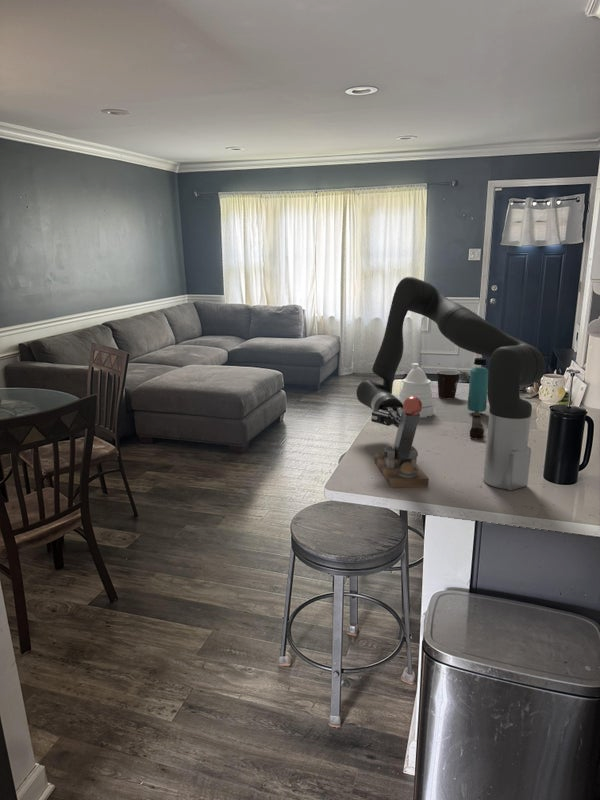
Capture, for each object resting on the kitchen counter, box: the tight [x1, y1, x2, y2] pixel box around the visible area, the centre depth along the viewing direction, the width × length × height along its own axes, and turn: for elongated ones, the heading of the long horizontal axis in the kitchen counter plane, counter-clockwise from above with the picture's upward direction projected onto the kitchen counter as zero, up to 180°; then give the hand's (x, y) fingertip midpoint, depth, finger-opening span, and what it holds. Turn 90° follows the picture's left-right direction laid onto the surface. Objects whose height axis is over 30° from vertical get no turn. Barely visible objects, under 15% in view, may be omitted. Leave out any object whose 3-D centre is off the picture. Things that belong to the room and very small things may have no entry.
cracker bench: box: [373, 445, 430, 489], centre depth 136 cm, size 18×9×6 cm, turn 5°
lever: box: [392, 397, 422, 465], centre depth 129 cm, size 6×4×20 cm
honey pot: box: [396, 362, 435, 418], centre depth 192 cm, size 13×13×18 cm
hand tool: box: [469, 411, 485, 440], centre depth 172 cm, size 19×4×5 cm, turn 161°
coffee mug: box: [436, 369, 460, 399], centre depth 215 cm, size 12×9×10 cm
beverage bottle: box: [467, 357, 488, 413], centre depth 190 cm, size 6×7×20 cm
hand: (404, 425), depth 132 cm, fingers closed
